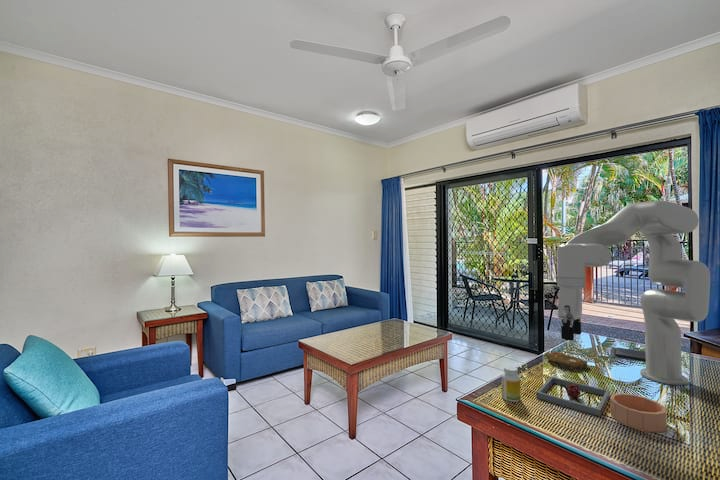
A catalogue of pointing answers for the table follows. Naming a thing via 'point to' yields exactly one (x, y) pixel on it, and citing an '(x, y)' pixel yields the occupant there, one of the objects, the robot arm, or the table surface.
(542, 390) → the grey flat square frame
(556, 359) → the decorative rock
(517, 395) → the supplement bottle
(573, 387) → the dice
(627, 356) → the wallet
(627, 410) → the bowl
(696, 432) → the table surface
